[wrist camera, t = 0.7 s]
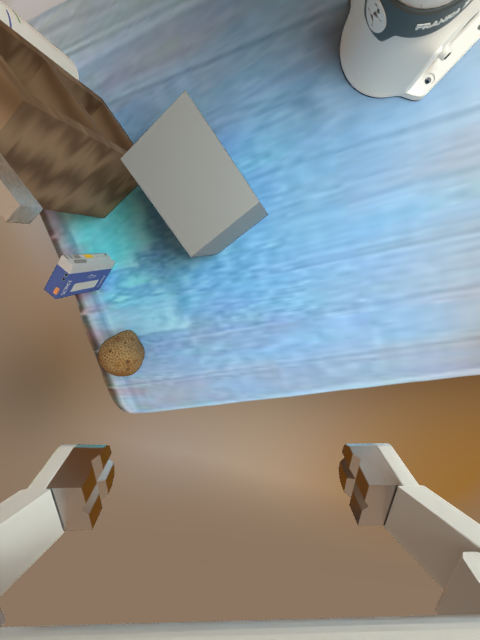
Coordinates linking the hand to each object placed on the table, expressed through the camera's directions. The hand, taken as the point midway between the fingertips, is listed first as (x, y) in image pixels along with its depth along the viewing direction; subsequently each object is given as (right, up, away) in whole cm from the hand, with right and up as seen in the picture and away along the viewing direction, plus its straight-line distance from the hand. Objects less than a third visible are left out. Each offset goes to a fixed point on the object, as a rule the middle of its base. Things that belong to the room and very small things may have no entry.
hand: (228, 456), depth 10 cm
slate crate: (-4, +27, +41) cm, 49 cm away
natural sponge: (-23, -1, +52) cm, 57 cm away
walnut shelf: (-26, +35, +43) cm, 61 cm away
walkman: (-29, +15, +49) cm, 59 cm away
